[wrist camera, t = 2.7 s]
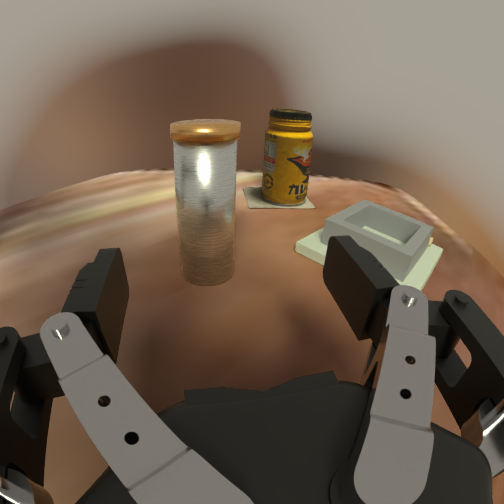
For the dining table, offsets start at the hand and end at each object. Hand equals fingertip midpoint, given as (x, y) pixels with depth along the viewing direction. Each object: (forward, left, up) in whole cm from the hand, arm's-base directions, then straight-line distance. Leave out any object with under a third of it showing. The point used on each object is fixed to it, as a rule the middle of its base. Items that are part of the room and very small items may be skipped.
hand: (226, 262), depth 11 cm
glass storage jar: (-10, +6, -8) cm, 14 cm away
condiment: (-17, +24, -9) cm, 30 cm away
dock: (-1, +20, -8) cm, 22 cm away
